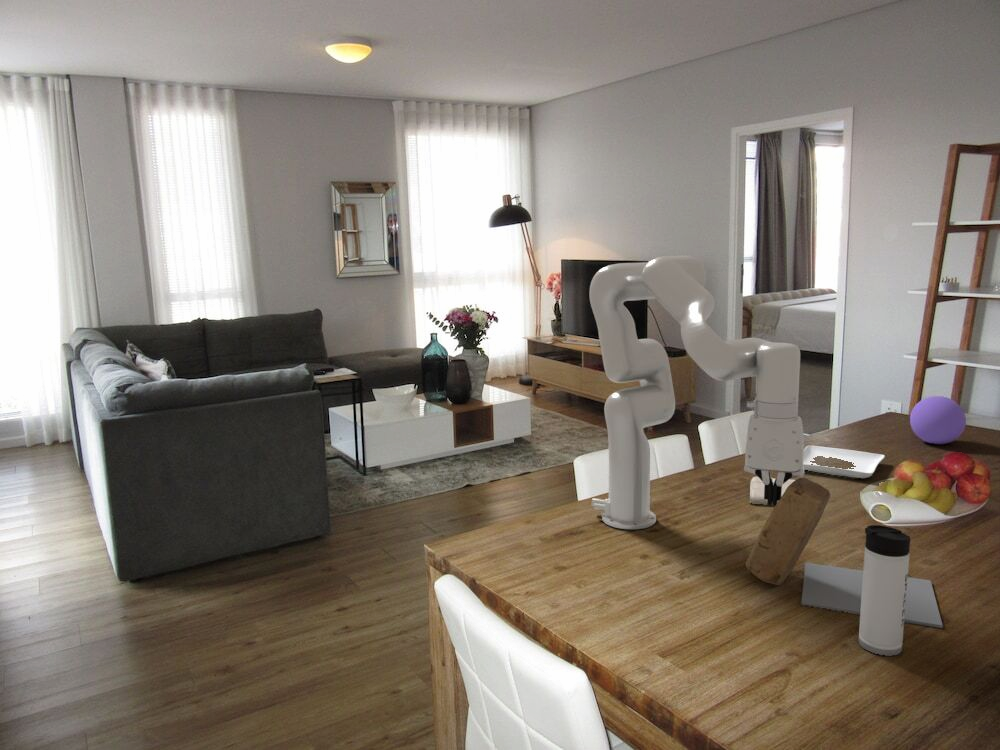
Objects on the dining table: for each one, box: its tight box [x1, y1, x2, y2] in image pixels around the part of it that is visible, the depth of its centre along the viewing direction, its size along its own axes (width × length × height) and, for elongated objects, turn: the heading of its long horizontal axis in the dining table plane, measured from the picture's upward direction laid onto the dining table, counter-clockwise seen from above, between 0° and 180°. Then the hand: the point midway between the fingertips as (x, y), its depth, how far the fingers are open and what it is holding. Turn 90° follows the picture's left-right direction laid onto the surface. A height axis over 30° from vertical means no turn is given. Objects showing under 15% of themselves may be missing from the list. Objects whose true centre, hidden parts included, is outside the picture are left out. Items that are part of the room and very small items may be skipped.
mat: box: [801, 562, 944, 629], centre depth 137 cm, size 22×18×1 cm
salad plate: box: [803, 444, 886, 479], centre depth 211 cm, size 21×21×3 cm
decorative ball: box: [909, 395, 967, 445], centre depth 231 cm, size 15×15×15 cm
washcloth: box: [748, 475, 796, 506], centre depth 190 cm, size 12×18×3 cm, turn 160°
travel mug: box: [858, 524, 911, 657], centre depth 118 cm, size 6×7×20 cm
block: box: [745, 477, 831, 586], centre depth 141 cm, size 11×8×20 cm
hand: (772, 503), depth 141 cm, fingers closed
